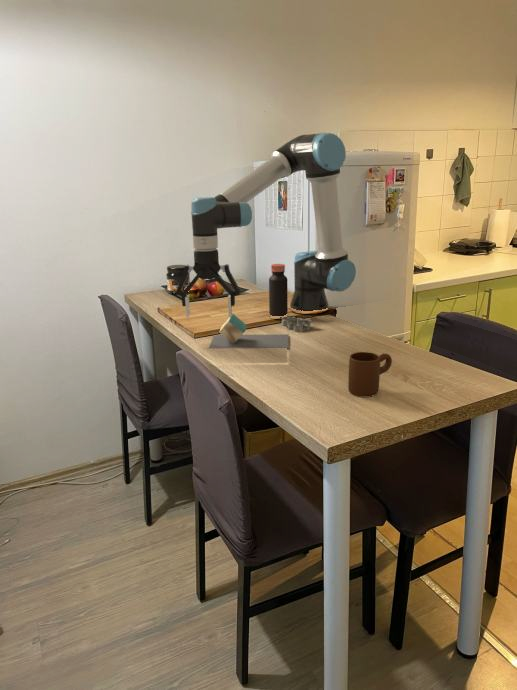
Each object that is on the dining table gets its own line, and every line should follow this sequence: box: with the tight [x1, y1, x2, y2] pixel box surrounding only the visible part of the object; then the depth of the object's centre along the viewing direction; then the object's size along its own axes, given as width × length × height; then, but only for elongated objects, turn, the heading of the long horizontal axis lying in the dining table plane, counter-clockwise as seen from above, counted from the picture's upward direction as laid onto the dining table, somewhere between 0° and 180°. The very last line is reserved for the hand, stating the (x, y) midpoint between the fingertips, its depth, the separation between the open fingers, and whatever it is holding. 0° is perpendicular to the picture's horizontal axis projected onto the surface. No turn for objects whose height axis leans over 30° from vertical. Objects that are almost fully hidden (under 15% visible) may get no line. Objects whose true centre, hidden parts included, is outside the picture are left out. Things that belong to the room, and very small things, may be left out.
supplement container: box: [166, 264, 191, 295], centre depth 247 cm, size 10×10×12 cm
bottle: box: [268, 263, 289, 316], centre depth 201 cm, size 7×7×20 cm
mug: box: [347, 351, 393, 397], centre depth 136 cm, size 12×8×9 cm, turn 115°
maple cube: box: [219, 313, 248, 344], centre depth 175 cm, size 6×6×6 cm
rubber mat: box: [208, 333, 289, 351], centre depth 176 cm, size 25×14×1 cm, turn 87°
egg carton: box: [280, 315, 313, 333], centre depth 191 cm, size 11×8×4 cm
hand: (209, 316), depth 174 cm, fingers open, 13 cm apart
